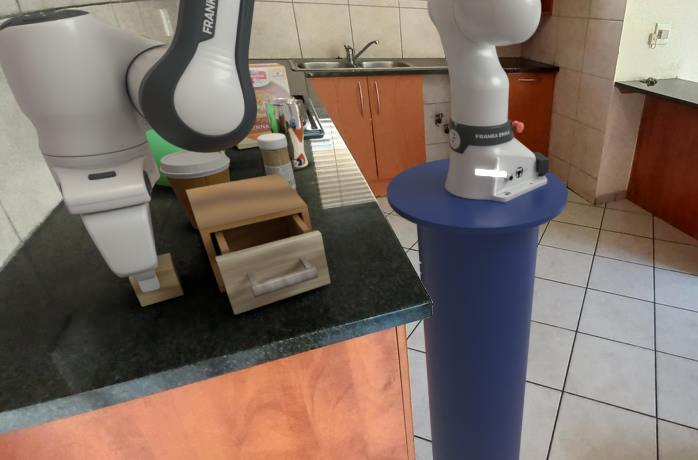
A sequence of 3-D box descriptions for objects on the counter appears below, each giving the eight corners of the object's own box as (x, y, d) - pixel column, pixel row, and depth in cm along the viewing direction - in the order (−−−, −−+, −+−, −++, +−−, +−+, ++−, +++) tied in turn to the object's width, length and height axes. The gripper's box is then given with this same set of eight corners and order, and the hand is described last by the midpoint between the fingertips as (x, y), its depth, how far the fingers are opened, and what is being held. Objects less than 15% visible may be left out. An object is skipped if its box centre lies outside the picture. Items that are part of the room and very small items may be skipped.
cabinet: (318, 263, 65) (307, 205, 60) (220, 292, 57) (198, 229, 53) (291, 225, 75) (279, 173, 70) (205, 246, 67) (185, 189, 63)
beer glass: (308, 170, 98) (295, 104, 91) (275, 171, 96) (259, 104, 89) (312, 160, 104) (301, 97, 97) (281, 161, 102) (267, 97, 95)
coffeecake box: (238, 149, 108) (217, 68, 99) (231, 143, 113) (210, 64, 103) (300, 140, 117) (285, 65, 108) (291, 134, 122) (276, 62, 112)
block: (180, 279, 60) (170, 252, 57) (183, 294, 57) (172, 267, 54) (140, 290, 57) (128, 262, 55) (141, 307, 54) (128, 278, 52)
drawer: (342, 299, 56) (333, 248, 52) (242, 336, 49) (223, 280, 45) (301, 242, 68) (292, 197, 64) (216, 265, 61) (200, 216, 57)
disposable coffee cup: (190, 213, 77) (168, 149, 71) (250, 208, 80) (233, 146, 74) (173, 238, 69) (146, 168, 63) (240, 231, 72) (220, 164, 66)
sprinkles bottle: (290, 197, 85) (275, 130, 78) (305, 203, 83) (290, 135, 76) (268, 205, 81) (250, 136, 75) (283, 211, 79) (266, 141, 73)
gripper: (75, 149, 54) (117, 243, 60) (61, 207, 40) (117, 321, 46) (139, 142, 57) (172, 232, 64) (146, 193, 43) (187, 301, 50)
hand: (149, 270), depth 55 cm, fingers open, 8 cm apart
